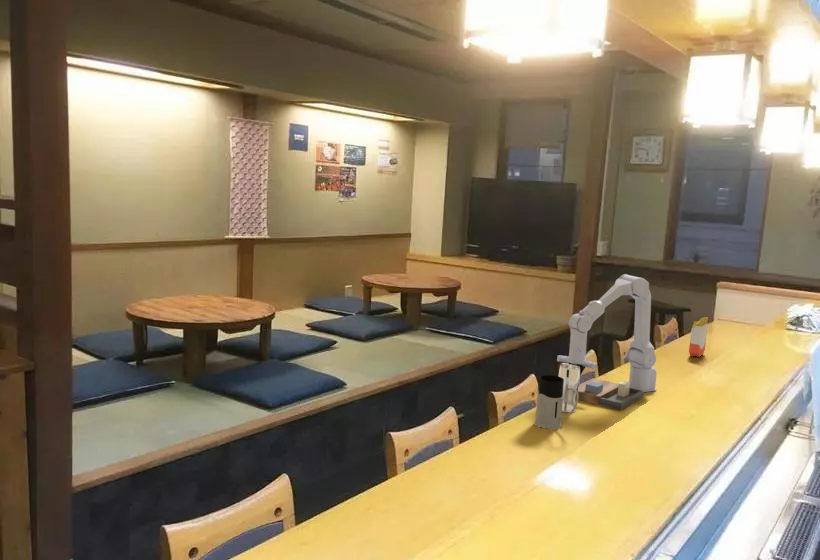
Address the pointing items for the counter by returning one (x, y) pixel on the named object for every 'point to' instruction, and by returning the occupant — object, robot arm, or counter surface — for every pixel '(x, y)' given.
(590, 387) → the blue-gray block
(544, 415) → the grey black mug
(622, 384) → the white tile
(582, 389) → the walnut board
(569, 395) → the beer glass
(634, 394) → the tray
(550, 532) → the counter surface
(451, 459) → the counter surface
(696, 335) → the french fries container
